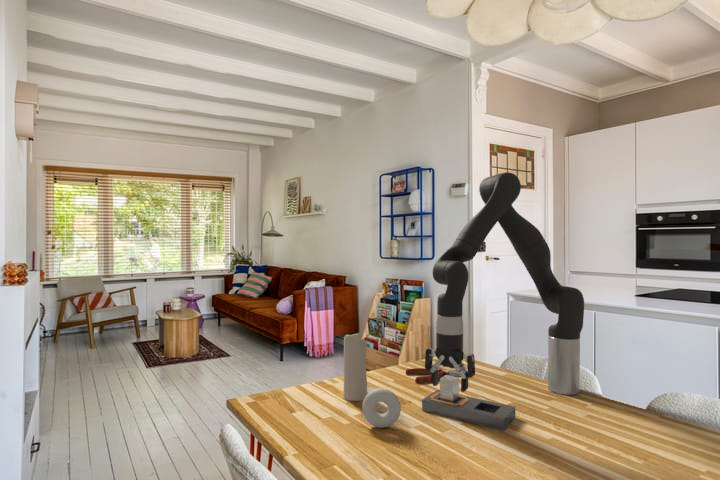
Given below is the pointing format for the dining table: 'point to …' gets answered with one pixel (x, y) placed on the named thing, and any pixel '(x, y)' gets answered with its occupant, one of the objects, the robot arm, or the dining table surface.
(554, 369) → the robot arm
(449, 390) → the steel block
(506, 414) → the rail
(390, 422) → the donut
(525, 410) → the dining table surface
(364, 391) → the tall grey curved block
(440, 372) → the pliers
